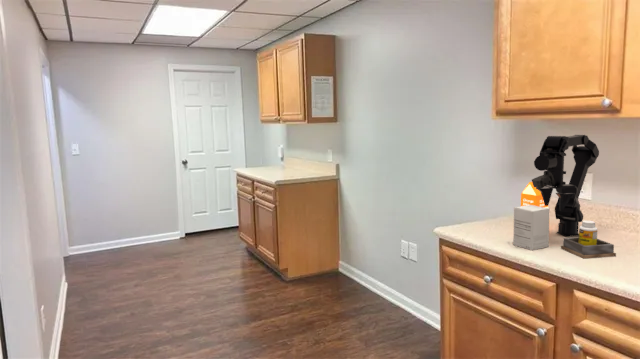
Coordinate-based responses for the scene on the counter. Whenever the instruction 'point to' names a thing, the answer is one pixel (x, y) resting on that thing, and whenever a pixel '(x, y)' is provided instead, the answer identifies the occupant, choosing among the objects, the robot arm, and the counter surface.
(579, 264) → the counter surface
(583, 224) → the supplement bottle
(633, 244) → the counter surface
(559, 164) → the robot arm
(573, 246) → the tray
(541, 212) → the supplement box
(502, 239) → the counter surface
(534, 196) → the orange juice
